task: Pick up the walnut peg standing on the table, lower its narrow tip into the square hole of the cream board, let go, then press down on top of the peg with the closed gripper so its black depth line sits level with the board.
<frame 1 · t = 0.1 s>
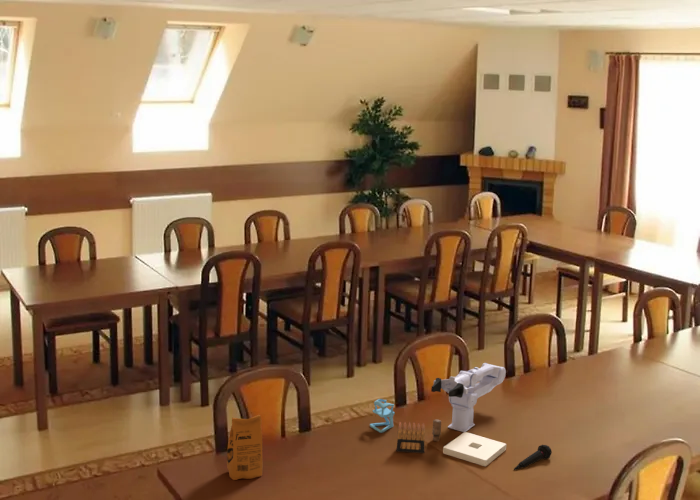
hand: (440, 391, 347), 22 cm above the table, tool horizontal, fingers open, 7 cm apart
light blue bar frame: (383, 427, 365), on the table
cream board: (474, 451, 346), on the table
microphone: (530, 463, 338), on the table
walnut peg: (436, 439, 355), on the table
ammunition clip: (410, 451, 344), on the table
coffee package: (244, 474, 322), on the table
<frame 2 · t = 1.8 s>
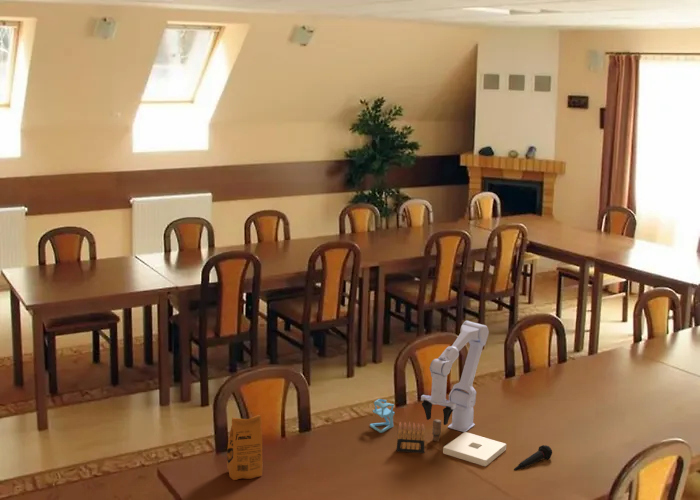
hand: (437, 421, 353), 8 cm above the table, tool pointing down, fingers open, 7 cm apart
nothing on the table moved.
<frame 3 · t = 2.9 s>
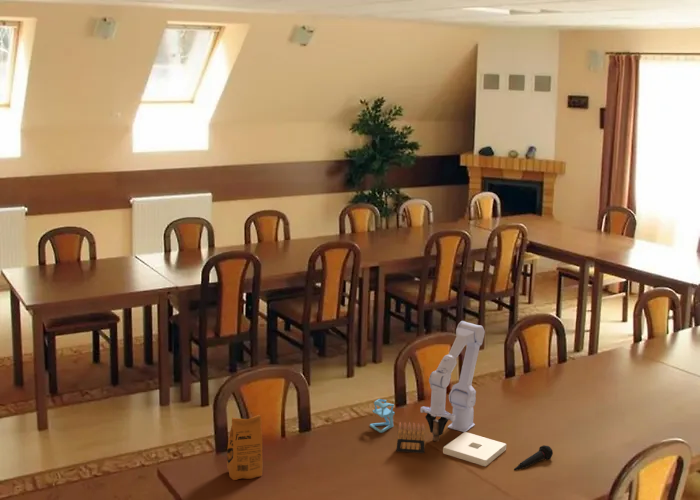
hand: (436, 433, 354), 3 cm above the table, tool pointing down, fingers closed on walnut peg, 3 cm apart
walnut peg: (436, 439, 355), on the table, touching gripper
everything else where it was.
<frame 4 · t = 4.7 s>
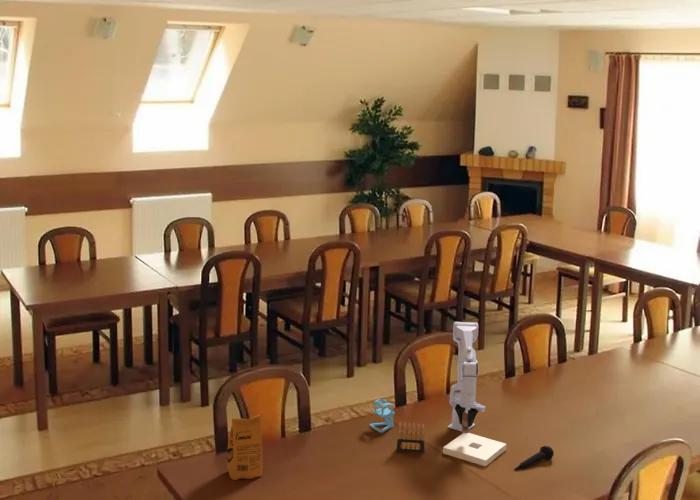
hand: (465, 424, 346), 10 cm above the table, tool pointing down, fingers closed on walnut peg, 3 cm apart
walnut peg: (465, 432, 346), point 7 cm above the table, touching gripper
when the fingers open (4 cm above the table, at t = 6.8 s): walnut peg stays where it is, resting in cream board.
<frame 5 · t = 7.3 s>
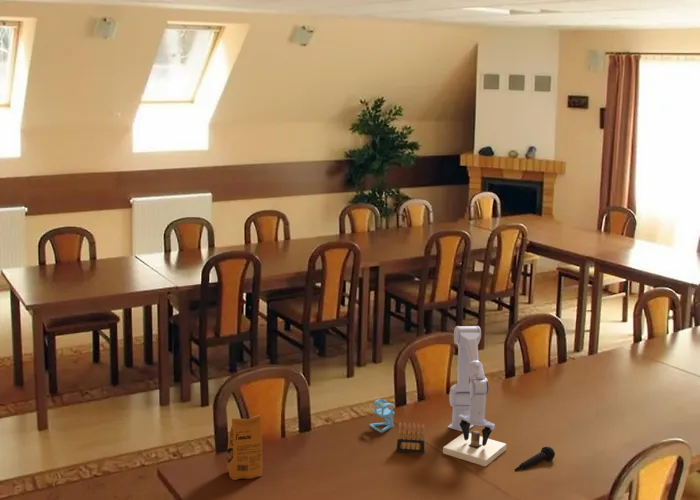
hand: (475, 442, 345), 4 cm above the table, tool pointing down, fingers open, 7 cm apart
walnut peg: (474, 451, 346), resting in cream board
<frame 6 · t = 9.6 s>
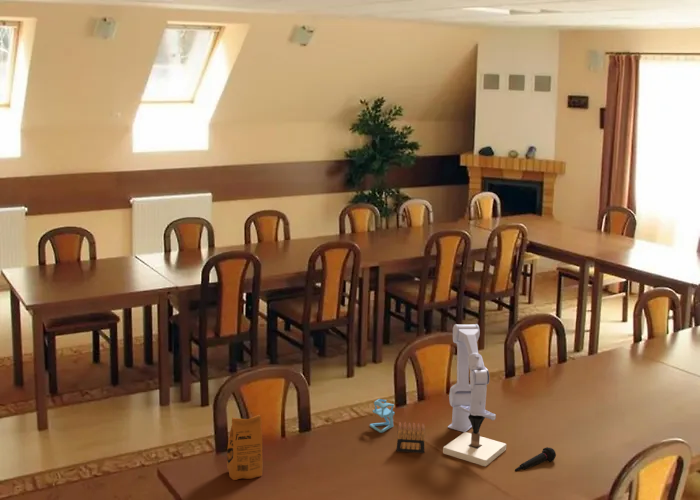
hand: (476, 432, 344), 8 cm above the table, tool pointing down, fingers closed, pressing on walnut peg
walnut peg: (474, 451, 346), resting in cream board, touching gripper
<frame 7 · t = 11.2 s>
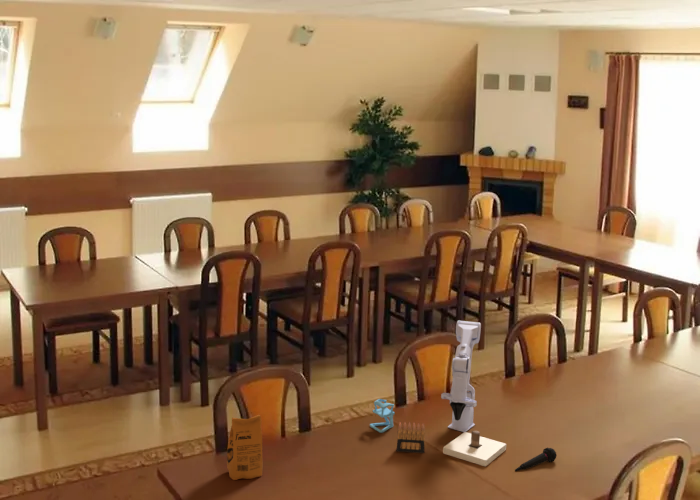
hand: (457, 419, 351), 10 cm above the table, tool pointing down, fingers closed
walnut peg: (474, 451, 346), resting in cream board
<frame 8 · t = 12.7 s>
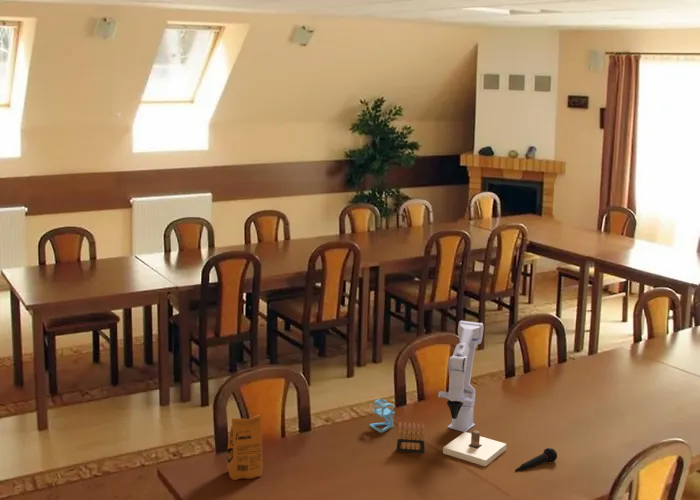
hand: (454, 418, 352), 10 cm above the table, tool pointing down, fingers closed
at the end: walnut peg 0.1 cm off-centre on the cream board, point 0.0 cm above the cream board's base; walnut peg tilted 0°; the gripper is holding nothing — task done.
